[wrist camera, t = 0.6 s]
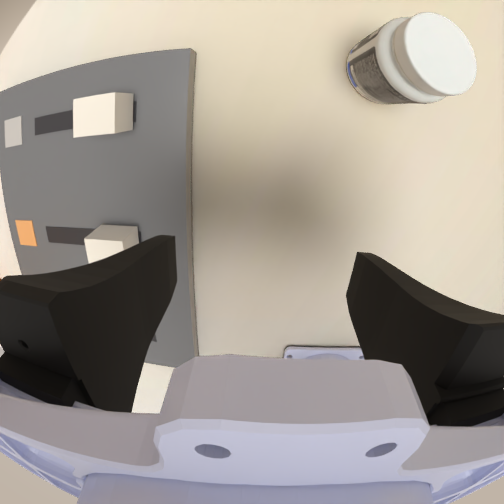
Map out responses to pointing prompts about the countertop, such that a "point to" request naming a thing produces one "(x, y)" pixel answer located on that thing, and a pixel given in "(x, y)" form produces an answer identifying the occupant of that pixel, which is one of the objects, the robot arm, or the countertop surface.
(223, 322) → the countertop surface
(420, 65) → the pill bottle
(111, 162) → the switch board
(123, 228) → the middle tab
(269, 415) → the robot arm
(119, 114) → the block
